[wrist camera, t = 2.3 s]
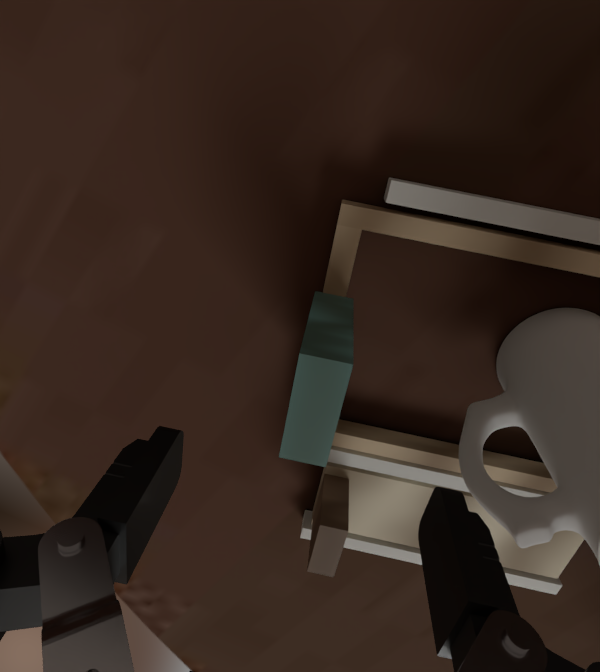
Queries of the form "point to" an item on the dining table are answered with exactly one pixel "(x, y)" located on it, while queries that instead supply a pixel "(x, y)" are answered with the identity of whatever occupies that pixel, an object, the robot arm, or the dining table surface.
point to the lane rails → (489, 213)
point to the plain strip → (408, 521)
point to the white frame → (337, 345)
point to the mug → (544, 426)
